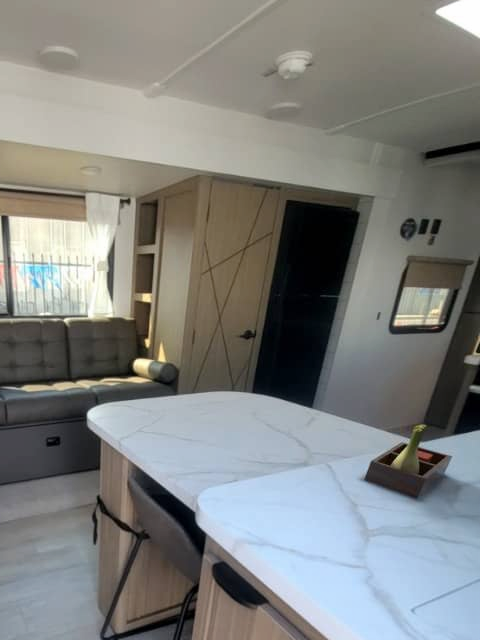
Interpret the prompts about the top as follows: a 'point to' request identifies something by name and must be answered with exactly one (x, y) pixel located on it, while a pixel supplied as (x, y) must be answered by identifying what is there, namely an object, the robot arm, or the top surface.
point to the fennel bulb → (410, 452)
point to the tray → (405, 480)
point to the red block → (424, 456)
